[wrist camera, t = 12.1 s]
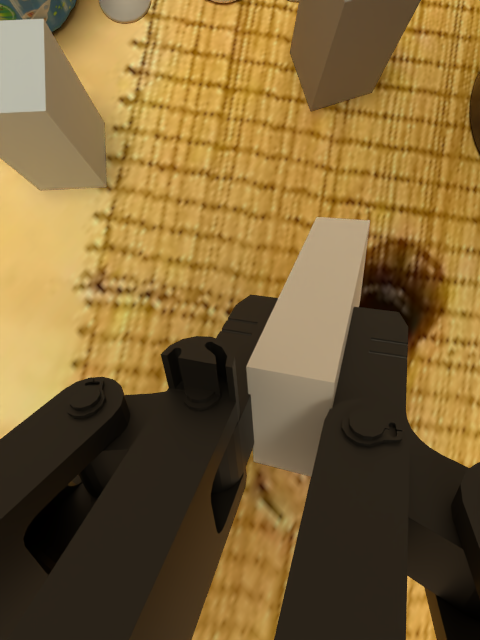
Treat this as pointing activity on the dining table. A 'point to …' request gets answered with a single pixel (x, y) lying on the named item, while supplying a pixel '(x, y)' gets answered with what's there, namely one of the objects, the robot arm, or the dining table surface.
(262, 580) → the dining table surface
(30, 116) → the light grey rectangular block
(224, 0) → the supplement bottle
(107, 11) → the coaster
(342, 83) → the post charcoal
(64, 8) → the snack cup
